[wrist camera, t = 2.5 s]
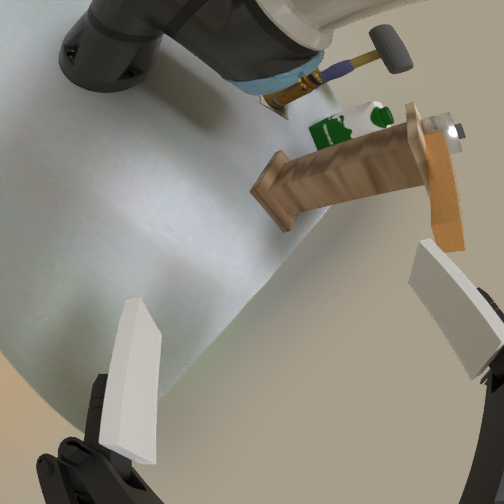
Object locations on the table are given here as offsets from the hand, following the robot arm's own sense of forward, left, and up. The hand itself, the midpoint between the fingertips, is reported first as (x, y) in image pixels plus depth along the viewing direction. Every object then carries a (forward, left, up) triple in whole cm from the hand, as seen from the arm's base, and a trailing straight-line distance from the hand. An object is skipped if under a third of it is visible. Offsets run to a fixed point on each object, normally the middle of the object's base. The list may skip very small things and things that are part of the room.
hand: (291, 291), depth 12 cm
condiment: (-42, +24, -25) cm, 54 cm away
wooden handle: (-15, +23, +4) cm, 27 cm away
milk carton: (-40, +41, -25) cm, 62 cm away
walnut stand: (-20, +26, -24) cm, 41 cm away
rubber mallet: (-57, +37, -25) cm, 72 cm away
